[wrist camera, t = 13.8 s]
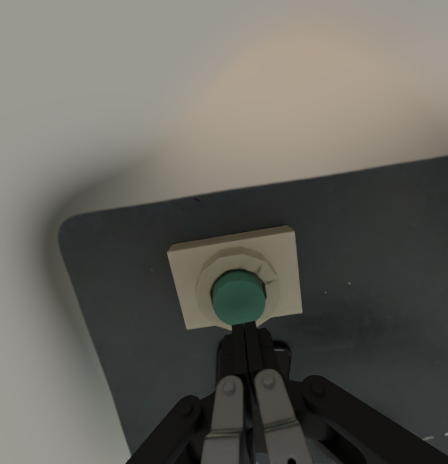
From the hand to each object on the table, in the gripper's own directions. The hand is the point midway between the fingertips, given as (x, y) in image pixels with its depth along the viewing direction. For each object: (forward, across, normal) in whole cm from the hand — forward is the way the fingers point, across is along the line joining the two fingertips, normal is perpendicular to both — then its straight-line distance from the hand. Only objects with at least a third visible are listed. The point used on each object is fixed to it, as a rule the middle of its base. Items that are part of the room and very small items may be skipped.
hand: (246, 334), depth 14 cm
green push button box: (+8, 0, 0) cm, 8 cm away
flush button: (+5, 0, 0) cm, 5 cm away
